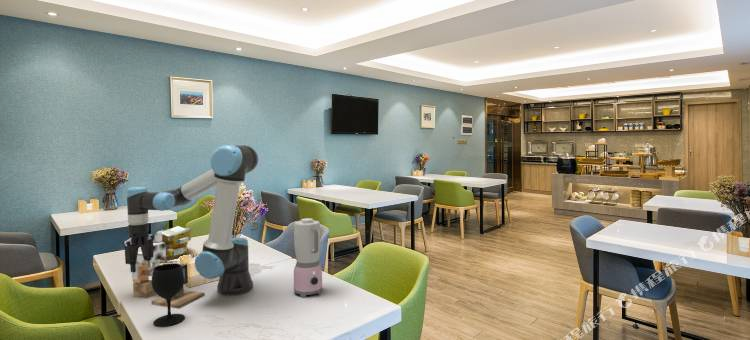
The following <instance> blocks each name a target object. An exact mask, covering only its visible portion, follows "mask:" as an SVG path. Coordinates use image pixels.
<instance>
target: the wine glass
mask: <svg viewBox="0 0 750 340" xmlns="http://www.w3.org/2000/svg"><path fill="white" fill-rule="evenodd" d="M180 264H181V263H177V262H170V263H164V264H160V265H159V266H157V267H155V268H154V270H153V274H152V276H151V280H152V288H153V290H154V292H155V293H156V294H155V295H156V296H157V295H158V297H159V298H160V297H162V298H164V299H166V301H167V306H166V308H167V314H165V315H161V316H159V317H158V318H156V319H154V321H153V326H154V327H158V328H165V327H172V326H175V325H178V324H180V323H181V324H182V322H183V321H184V320H185V319H186V316H185V315H184V314H182V313H172V311H171V308H172V307H170V305H171V299H172V298H173V297H174V296H175V295H176V294H177V293H178V292H179V291H180V290H181V288H182V286H184V285H183V282H184V274H183V270H182V267H181V265H180Z"/></svg>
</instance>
